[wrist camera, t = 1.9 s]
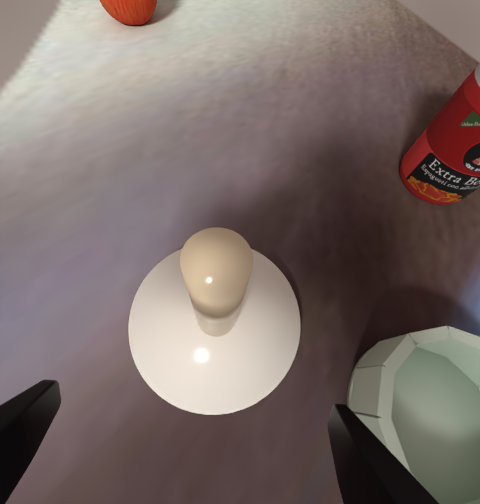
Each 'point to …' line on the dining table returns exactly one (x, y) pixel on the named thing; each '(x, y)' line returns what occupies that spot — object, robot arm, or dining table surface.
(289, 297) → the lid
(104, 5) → the apple
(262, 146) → the dining table surface
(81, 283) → the dining table surface
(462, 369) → the bowl
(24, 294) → the dining table surface
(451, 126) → the canned food
